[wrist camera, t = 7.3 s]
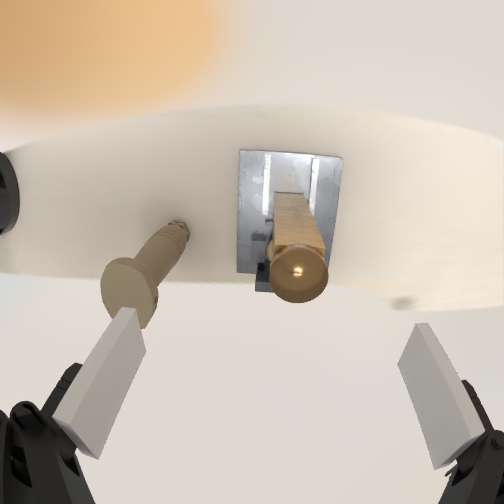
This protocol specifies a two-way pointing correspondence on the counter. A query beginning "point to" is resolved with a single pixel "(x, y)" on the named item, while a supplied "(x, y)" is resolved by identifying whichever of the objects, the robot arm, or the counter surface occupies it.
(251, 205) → the slotted metal plate
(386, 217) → the counter surface
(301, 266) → the lever
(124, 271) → the handle
